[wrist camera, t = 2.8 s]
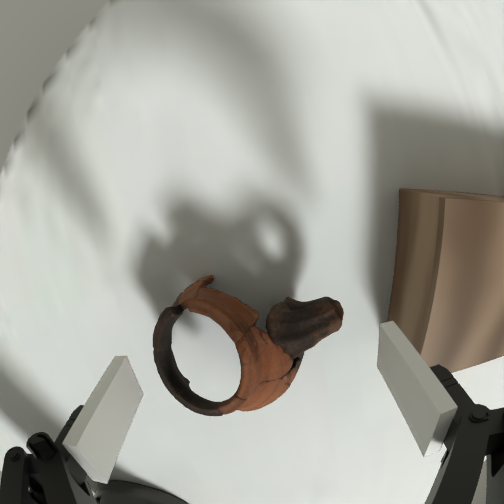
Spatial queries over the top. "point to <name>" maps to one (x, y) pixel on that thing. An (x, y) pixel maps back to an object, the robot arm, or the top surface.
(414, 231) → the walnut box
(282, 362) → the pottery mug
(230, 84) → the top surface
